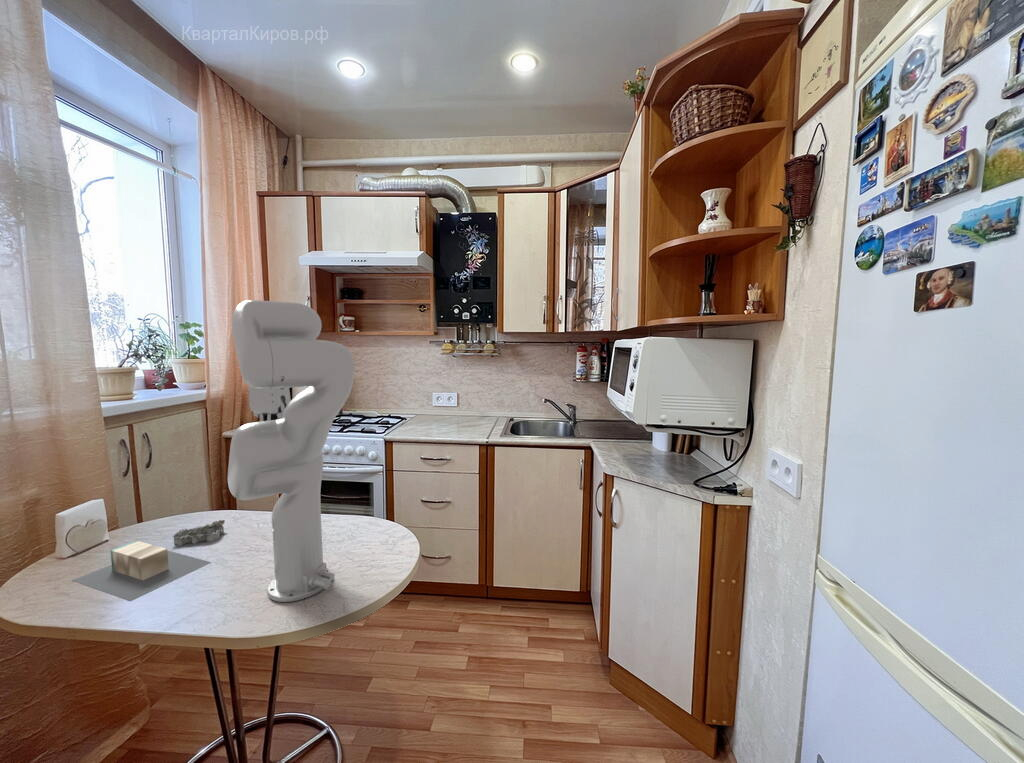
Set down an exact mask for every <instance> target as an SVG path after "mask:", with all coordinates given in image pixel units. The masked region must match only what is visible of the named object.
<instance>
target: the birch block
mask: <svg viewBox="0 0 1024 763" xmlns="http://www.w3.org/2000/svg"><path fill="white" fill-rule="evenodd" d="M167 550H168V548H165V547H161V546H157V545H155V544H150V543H147V542H142V541H139V540H135V541H134V540H133V541H132V542H129V543H126V544H123V545H121V546H118V547H115V548H113V549H110V560H111V561H110V562H111V565H112V571H115V572H119V573H122V574H125V575H128V576H131V577H134V578H137V579H140V580H145V579H148V578H150V577H152V576H154V575H156V574H159V573H161V572H163V571H165V570H168V569H169V566H168V553H167Z"/></svg>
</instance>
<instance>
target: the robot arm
mask: <svg viewBox="0 0 1024 763" xmlns="http://www.w3.org/2000/svg"><path fill="white" fill-rule="evenodd" d="M231 319H232V320H231V330H232V331H231V332H232V337H233V341H234V346H235V352H236V355H237V361H238V365H239V370H240V371H239V372H240V376H241V377H242V379H243V381H244V382H245V384H246V385H247V386H248V404H249V409H250V411H251V412H253V413H252V415H253V416H254V417H256V418H258V419H259V421H253V422H248V423H245V424H243V425H241V426H238V427H237V429H235V431H233V432H234V433H233V434H232V437H231V440H230V445H229V446H230V448H229V456H228V467H227V485H228V489H229V492H230V493H231V495H232V496H233V497H234V498H235V499H236V500H240V501H250V500H257V499H260V498H265V497H269V496H274V495H279V494H281V495H280V497H279V498H278V500H277V501H276V503H275V504H274V507H273V510H272V512H271V526H272V527H271V530H272V531H271V532H272V544H273V545H272V546H273V564H274V565H273V566H274V578H273V579H272V580H271V581H270V582H269V584H268V586H267V589H266V590H267V596H268V598H269V599H270V600H273V601H274V602H279V603H282V602H284V603H287V602H288V603H290V602H296V601H301V600H304V598H305V599H307V598H309V597H312V596H314V595H316V594H317V593H319V592H321V591H323V590H327V589H329V588H330V586H331V585H332V584H331V583H332V581H333V580H334V578H335V575H336V574H335V573H333V572H332V571H331V570H330V569H329V568H328V566H327V563H326V562H324V551H323V533H322V532H323V531H322V510H321V509H322V508H321V503H322V502H321V488H322V481H323V480H322V478H323V471H324V458H323V455H322V451H323V449H324V447H325V445H326V441H327V439H328V435H329V433H330V430H331V427H332V424H333V422H334V420H335V418H336V416H337V415H338V414H339V413H340V412H341V410H342V408H343V407H344V406H345V403H346V402H347V401H348V398H349V396H350V394H351V392H352V388H353V383H354V379H355V360H354V357H353V354H352V352H351V350H350V349H349V348H347V347H346V346H345V345H344V344H341V343H340V342H336V341H330V340H324V339H317V338H318V337H319V336H320V334H321V331H322V320H321V317H320V316H319V314H318V313H317V312H316V310H315V309H313V308H312V307H310V306H309V305H306V304H303V303H301V302H291V301H290V302H288V301H275V300H259V299H257V300H256V299H249V300H248V299H247V300H244V301H242V302H240V303H239V304H238V305H237V306H236V307H235V309H234V311H233V314H232V318H231ZM304 387H306V388H305V389H304V390H302V391H300V393H298V394H297V395H296V396H294V397H293V398H292V399H291V392H290V388H291V389H292V388H304Z"/></svg>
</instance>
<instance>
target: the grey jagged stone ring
mask: <svg viewBox="0 0 1024 763" xmlns="http://www.w3.org/2000/svg"><path fill="white" fill-rule="evenodd" d="M211 523H212V524H209V523H207V524H205V525H202V526H196V527H192V528H189V529H188V528H184V529H181V530H178V531H177V532H176V533H174V534H173V535H171V537H172V538H173V544H174V545H177V546H182V545H184V544H185V545H186V544H188V543H192V544H198V543H199V542H203V541H206V542H212V541H214V540H218V539H219V538H220V537H221V536H220V535H221V534H224V533H225V529H224V524H225V519H221V520H220V519H219V520H216V521H215V520H214V521H212V522H211Z"/></svg>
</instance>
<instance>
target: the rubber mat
mask: <svg viewBox="0 0 1024 763" xmlns="http://www.w3.org/2000/svg"><path fill="white" fill-rule="evenodd" d="M167 553H168V566H169V569H168V570H165V571H163V572H161V573H159V574H156V575H154V576H152V577H150V578H148V579H145V580H140V579H137V578H134V577H131V576H128V575H125V574H122V573H119V572H115V571H112V564H110V565H107V566H105V567H102V568H100V569H97V570H95V571H92V572H89V573H87V574H85V575H82V576H79V577H77V578H75V579H72V580H71V581H72V582H75V583H78V584H81V585H83V586H86V587H90V588H92V589H93V590H98V591H100V592H104V593H106V594H109V595H112V596H114V597H117V598H120V599H122V600H126V601H128V602H132V601H134V600H136V599H138V598H140V597H142V596H144V595H147V594H149V593H150V592H153V591H154V590H155V591H156V590H158V589H159V588H162V587H163V586H166V585H167V584H169V583H171V582H173V581H175V580H179V579H180V578H182V577H184V576H186V575H189V574H190V573H193V572H195V571H196V570H199V569H201V568H203V567H205V566H207V565H209V564H211V563H212V561H208V560H204V559H201V558H197V557H193V556H191V555H185V554H182V553H178V552H174V551H171V550H168V549H167Z"/></svg>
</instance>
